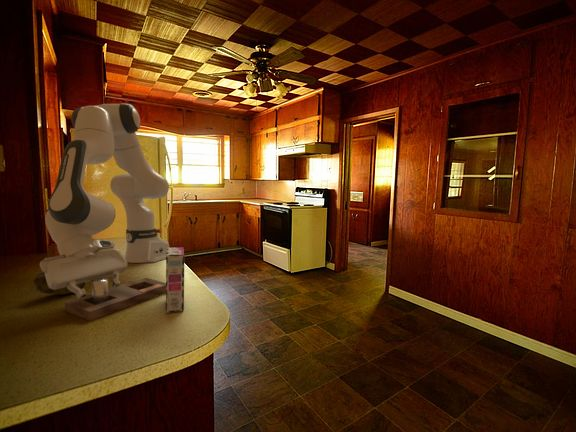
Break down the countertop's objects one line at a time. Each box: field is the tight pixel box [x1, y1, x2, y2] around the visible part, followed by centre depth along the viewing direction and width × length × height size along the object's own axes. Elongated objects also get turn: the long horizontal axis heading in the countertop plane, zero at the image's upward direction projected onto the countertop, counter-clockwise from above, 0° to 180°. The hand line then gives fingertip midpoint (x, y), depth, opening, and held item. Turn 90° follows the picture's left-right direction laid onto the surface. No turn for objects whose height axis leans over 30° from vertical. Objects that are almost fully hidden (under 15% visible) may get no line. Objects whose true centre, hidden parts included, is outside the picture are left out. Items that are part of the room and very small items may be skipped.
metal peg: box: [90, 277, 109, 305], centre depth 83 cm, size 4×4×8 cm
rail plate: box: [64, 277, 166, 322], centre depth 89 cm, size 25×12×3 cm, turn 152°
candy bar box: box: [165, 246, 185, 313], centre depth 86 cm, size 11×5×16 cm, turn 21°
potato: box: [33, 271, 86, 296], centre depth 92 cm, size 8×13×8 cm, turn 128°
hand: (100, 291), depth 83 cm, fingers open, 8 cm apart
